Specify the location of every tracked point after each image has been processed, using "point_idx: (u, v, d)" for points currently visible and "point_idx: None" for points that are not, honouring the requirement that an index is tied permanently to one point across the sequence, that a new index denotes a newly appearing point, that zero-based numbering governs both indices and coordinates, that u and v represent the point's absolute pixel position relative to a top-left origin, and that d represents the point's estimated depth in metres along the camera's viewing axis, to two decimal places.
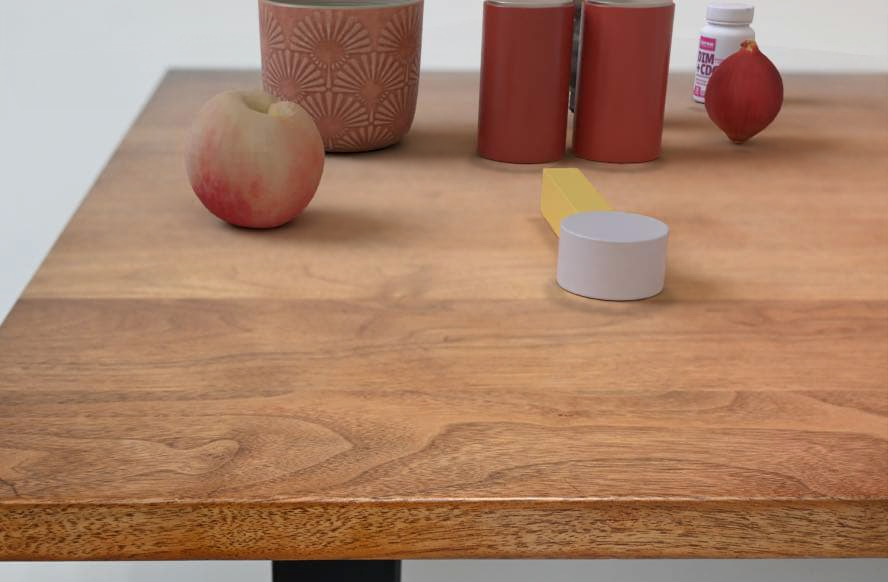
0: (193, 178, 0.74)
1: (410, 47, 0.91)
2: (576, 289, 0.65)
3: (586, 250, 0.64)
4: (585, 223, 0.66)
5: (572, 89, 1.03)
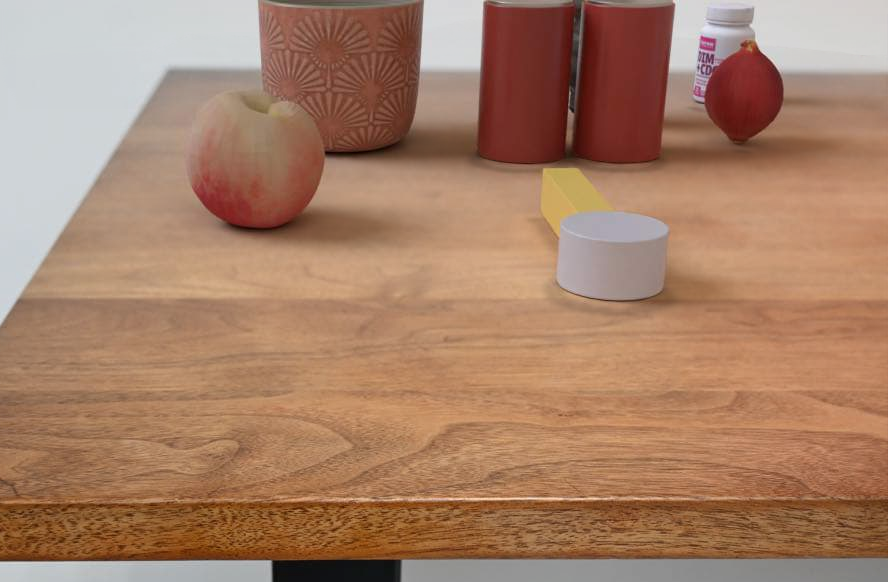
0: (193, 178, 0.74)
1: (410, 47, 0.91)
2: (576, 289, 0.65)
3: (586, 250, 0.64)
4: (585, 223, 0.66)
5: (572, 89, 1.03)
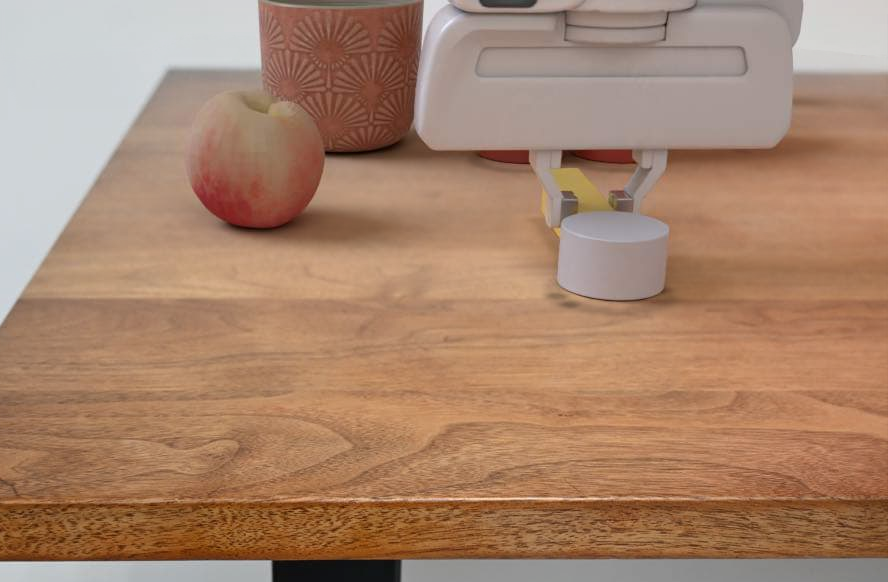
0: (193, 178, 0.74)
1: (410, 47, 0.91)
2: (577, 289, 0.65)
3: (586, 249, 0.64)
4: (586, 223, 0.66)
5: None
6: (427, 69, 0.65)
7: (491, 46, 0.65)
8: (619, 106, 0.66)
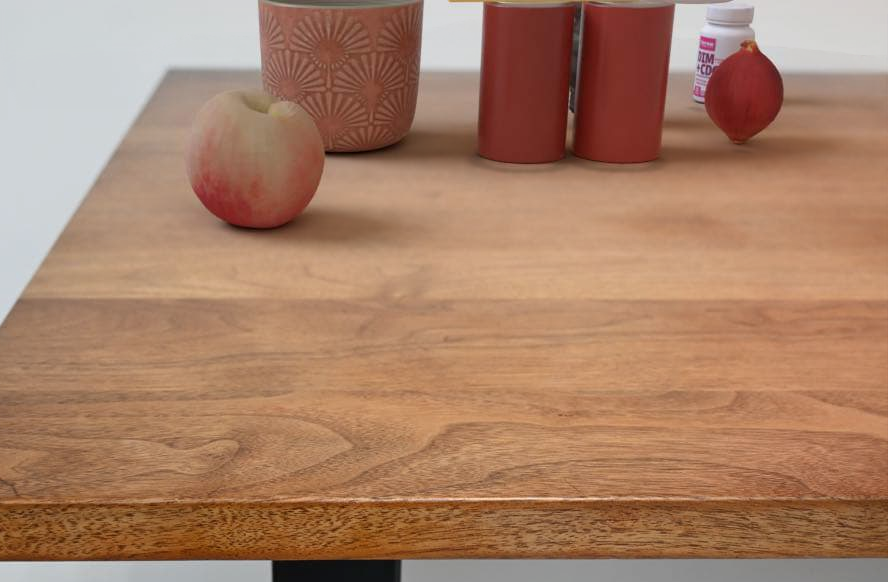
0: (193, 178, 0.74)
1: (410, 47, 0.91)
2: None
3: None
4: None
5: (572, 89, 1.03)
6: None
7: None
8: None
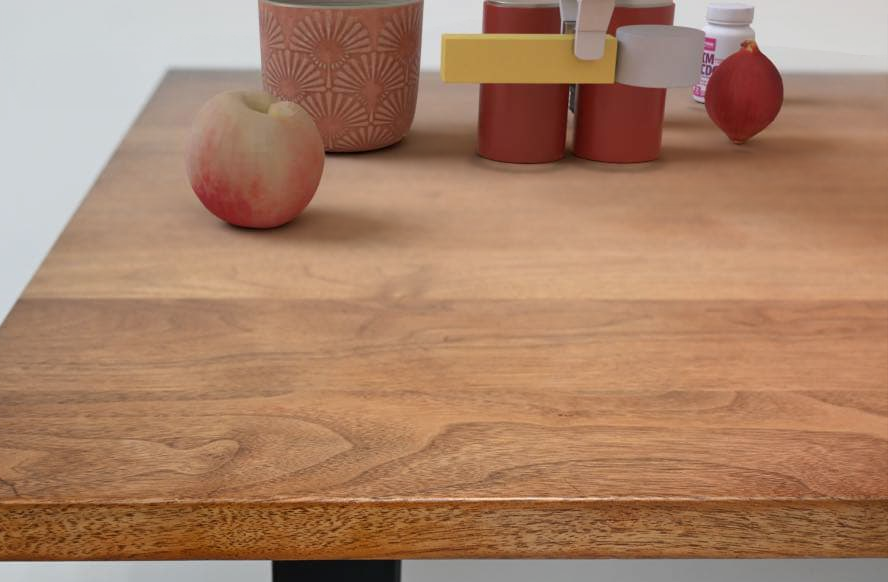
0: (193, 178, 0.74)
1: (410, 47, 0.91)
2: (692, 82, 0.80)
3: (699, 45, 0.79)
4: (662, 33, 0.79)
5: (572, 89, 1.03)
6: None
7: None
8: None
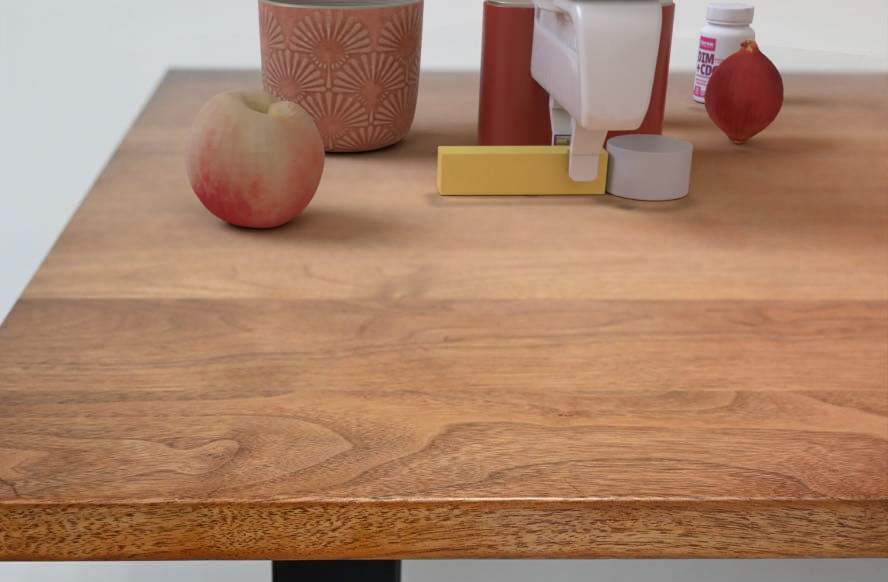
0: (193, 178, 0.74)
1: (410, 47, 0.91)
2: (680, 194, 0.83)
3: (687, 159, 0.82)
4: (651, 148, 0.82)
5: None
6: (652, 55, 0.71)
7: None
8: None
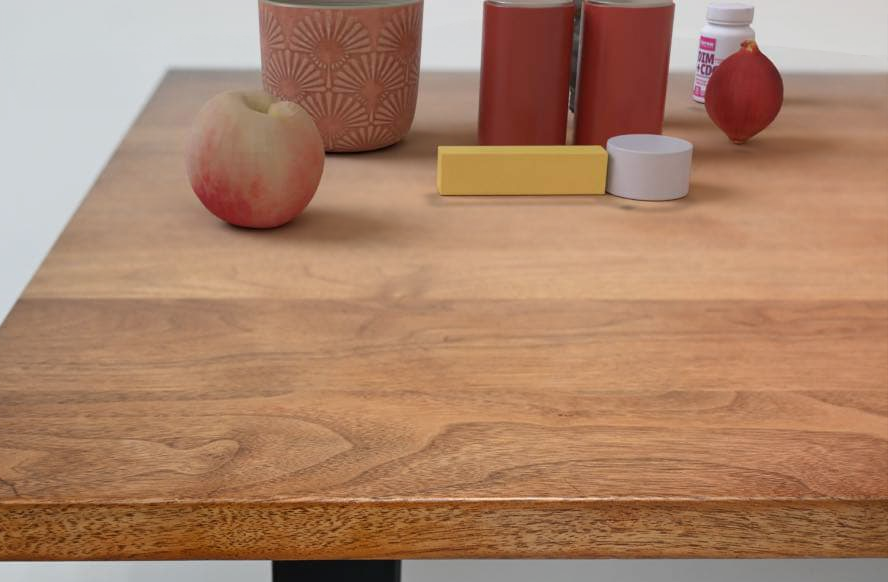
0: (193, 178, 0.74)
1: (410, 47, 0.91)
2: (680, 194, 0.83)
3: (687, 159, 0.82)
4: (651, 148, 0.82)
5: (572, 89, 1.03)
6: None
7: None
8: None
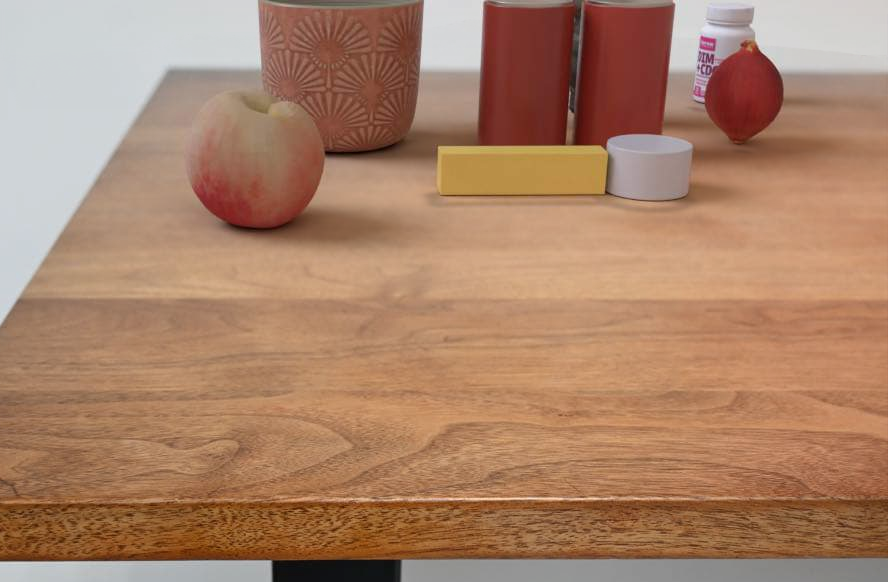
0: (193, 178, 0.74)
1: (410, 47, 0.91)
2: (680, 194, 0.83)
3: (687, 159, 0.82)
4: (651, 148, 0.82)
5: (572, 89, 1.03)
6: None
7: None
8: None
